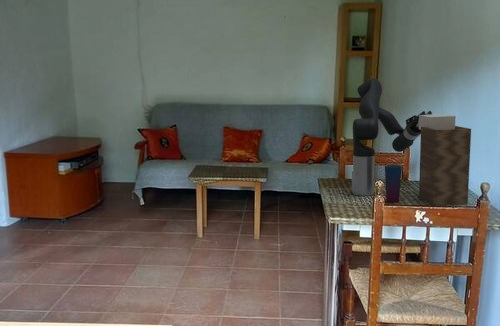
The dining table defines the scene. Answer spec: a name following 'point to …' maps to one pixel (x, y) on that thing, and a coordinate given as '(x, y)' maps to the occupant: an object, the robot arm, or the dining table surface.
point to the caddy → (437, 121)
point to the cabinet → (444, 165)
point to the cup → (393, 182)
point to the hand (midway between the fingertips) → (427, 113)
